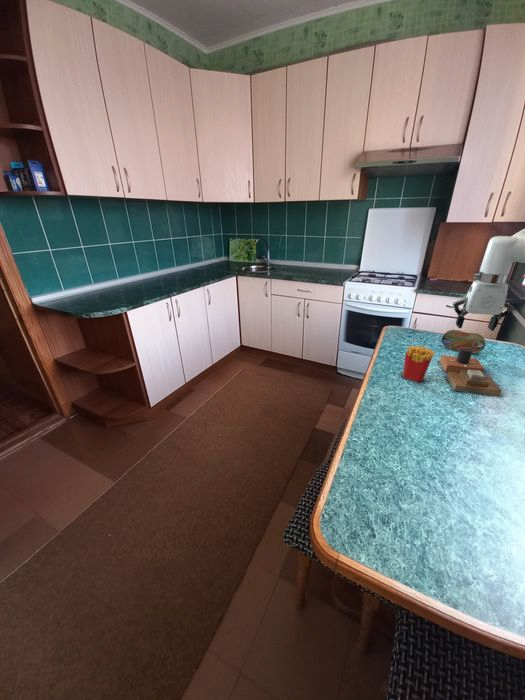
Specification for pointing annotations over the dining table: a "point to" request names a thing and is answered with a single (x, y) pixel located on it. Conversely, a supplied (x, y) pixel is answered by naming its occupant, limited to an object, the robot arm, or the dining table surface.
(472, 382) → the stepped nested square plaque
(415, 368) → the french fries
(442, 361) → the volume box
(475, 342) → the tin
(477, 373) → the key
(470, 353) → the volume knob
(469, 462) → the dining table surface
